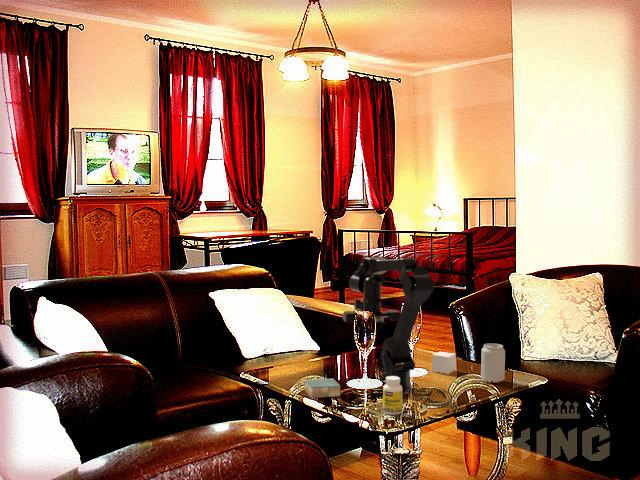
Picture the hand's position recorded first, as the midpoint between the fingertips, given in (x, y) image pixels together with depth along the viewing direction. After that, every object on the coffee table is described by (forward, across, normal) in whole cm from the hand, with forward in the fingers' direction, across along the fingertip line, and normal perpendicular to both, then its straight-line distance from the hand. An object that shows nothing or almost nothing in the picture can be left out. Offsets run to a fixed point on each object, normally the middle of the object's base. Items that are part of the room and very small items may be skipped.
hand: (371, 341), depth 227 cm
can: (+12, -38, +11) cm, 41 cm away
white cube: (+12, -27, -4) cm, 30 cm away
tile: (+11, +15, +14) cm, 23 cm away
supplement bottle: (+12, +3, +35) cm, 37 cm away
